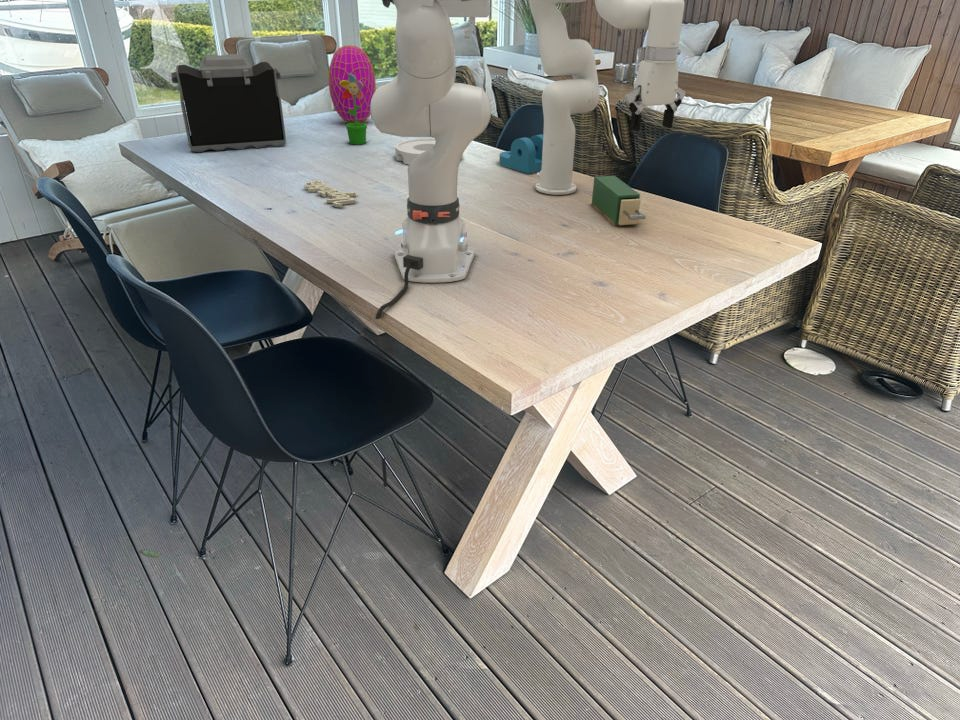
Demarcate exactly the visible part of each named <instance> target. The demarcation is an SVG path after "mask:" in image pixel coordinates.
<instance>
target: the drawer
mask: <svg viewBox="0 0 960 720" xmlns="http://www.w3.org/2000/svg"><path fill="white" fill-rule="evenodd" d="M640 207H641V199H634V198H620V207H619V215H618V221H619V222H618V224H619V225H622V226H630V225H629V224H636V225H637V224H638V222H639V220H646V218H647V215H646V213H642V212H641V211H640Z"/></svg>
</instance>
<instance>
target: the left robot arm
mask: <svg viewBox="0 0 960 720" xmlns="http://www.w3.org/2000/svg"><path fill="white" fill-rule="evenodd" d="M381 2H382V5H383V7H385V8H387V9H389V8H390V6H391V4H392V5H394V6H395V8H396V21H395V22H396V23H395V32H394V33H395V35H394V37H395V38H394V43H395V53H396V61H397V75H396V76H395V77H394V78H393V79H392V80H390V81H389V82H387V83H385V84H383V85H379V87H378V88H376V91H375V93H374V94H373V97H372V99H371V104H370V113H371V114H370V117H371V120H372V122H373V125H374V126H375V128H376V129H377V130H378V131H379V132H380V133H381V134H386V135H390V136H395V137H401V138H431V139H435V140H436V143H435V145H434V146H433V147H432V148H431V149H429V150H427V151H425V152H423V153H421V154H419V155H418V156H416V157H415V158H414V159H412V161H411V162H410V164H409V165H408V168H407V184H408V186H407V187H408V198H407V199H406V211H407V213H406V214H407V217H406V218H405V219H404V220H403V221H402V223H401V229H399V230H397V231H395V232H394V233H395V234H394V235H399V234H400V235H401V234H402V242H401V244H400V247H401V249H400V250H397V251H395V252H394V259H395V262H396V264H397V267H398V269H399V272H400V274H401V277H402V279H403V280H404V283H403V284H404V285H403V287H402V289H401V290H400V291H399V292H398V293H397V295H395V296H394V297H393V298H392V299H391V300H390V301H389V302H386V303H384V304H382V305H381V306H380V307H379V308H378V310H377V311H376V314H375V317H374V319H375V320H379V319H380V317H381V315H382V313H383V312H384V310H385V309H387V308H389V307H391V306H393V305H394V304H395V303H396V302H397V301H398V300H399V299H400V298H401V297H402V296H403V295H404V294H405V293H406V292H407V290H408V287H409V282H414V283H431V284H433V283H435V284H437V283H451V282H457V281H461V280H464V279H466V277H467V274H468V273H469V269H470V267H471V265H472V262H473V260H474V257H475V251H473V250H471V249H468V245H469V243H468V242H467V241H466V238H467V236H468V232H467V231H466V221H465V220H464V219H463V218H461V216H460V208H461V207H460V206H461V205H460V198H459V197H458V178H459V177H458V176H459V167H460V163H461V160H462V157H463V155H464V153H465V151H466V149H467V147H468V146H469V145H470V144H471V143H472V141H474V140H475V139H476V138H478V136H480V135H481V134H482V133H483V132H485V130H486V129H487V128H488V125H489V123H490V121H491V117H492V105H491V100H490V98H489V96H488V94H487V92H486V91H485V90H484V89H483V88H482V87H480V86H476V85H471V84H467V83H462V82H455V81H456V76H457V74H456V73H457V71H456V70H457V66H456V65H457V64H456V45H455V35H454V31H453V26H452V22H451V20H450V18H468V19H469V20H468V21H469V23H470V24H469V26H468V29H464V39H471V38H472V37H471V36H472V35H471V33H472V30H473V28H474V26H475V24H476V18H488V17H489V16H490V15H491V2H490V0H381ZM381 468H382V481H383V482H382V483H383V487H384V488H386V487H388V478H387V476H388V475H387V463H386V457H384V458H383V457H382V458H381Z"/></svg>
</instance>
